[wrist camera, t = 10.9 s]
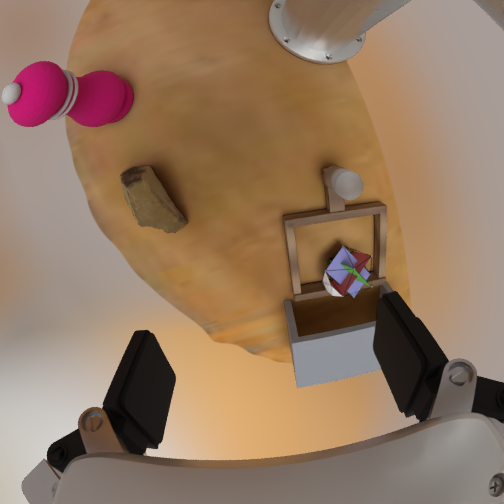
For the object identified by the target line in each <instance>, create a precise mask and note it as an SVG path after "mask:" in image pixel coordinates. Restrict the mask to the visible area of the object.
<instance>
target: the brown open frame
mask: <svg viewBox="0 0 504 504" xmlns="http://www.w3.org/2000/svg"><path fill="white" fill-rule="evenodd" d="M323 180H324V184H325V193H326V203H327V209H324V210H318V211H311V212H305V213H298V214H292V215H286V216H283V221H284V228H285V235H286V242H287V249H288V257H289V264H290V272H291V280H292V288H293V294H294V298H295V302H296V301H302V300H307V299H313V298H318V297H324V296H329V295H331V294H330V293H329V292H328V291H327V290H326V288H325V286H324V284H323V282H317V283H312V284H306V285H300V277H299V268H298V259H297V251H296V242H295V234H294V227H297V226H303V225H309V224H316V223H322V222H328V221H335V220H341V219H348V218H355V217H361V216H368V215H375V249H374V272H369V273H370V274H371V275H370V276H371V278H370V276H369V277H368V279H367V280H366V281H367V282H368V283H369V284H370V285H371V284H372V287H373V286H377V285H382V284H385V279H386V278H385V262H386V237H387V206H386V205H385V204H383V203H382V202H374V203H367V204H359V205H352V206H345V204H344V199H346V200H353V199H356V198H357V197H358V196H359V195H360V194H361V192H362V190H363V182H362V179H361V178H360V176H359V175H358V174H356V173H354V172H351V171H349V170H347V169H345V168H342V167H340V166H337V165H333V166H330V167H328V168H323ZM333 280H334V279H333ZM333 280H329V281H330V284H331V283H332V281H333ZM368 287H371V286H368V285H366V284H364V285H363V286H362V287H361V289H363V288H368ZM347 292H348V291H347Z"/></svg>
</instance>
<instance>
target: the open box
mask: <svg viewBox="0 0 504 504" xmlns="http://www.w3.org/2000/svg"><path fill="white" fill-rule="evenodd" d="M389 292H393V290H392V288H391V287H390V286H389V284H388V283H387V282H386V281H385V284H382V285H380V294H379V298H382V295H383V294H385V293H389ZM284 304H285V311H286V318H287V326H288V333H289V341H290V348H291V354H292V360H293V366H294V372H295V378H296V384H297V388H300V387H306V386H311V385H317V384H322V383H327V382H332V381H336V380H341V379H345V378H349V377H353V376H357V375H361V374H365V373H369V372H372V371H376V370H380V369H381V367H380V365H379V362H378V360H377V358H376V356H375V354H374V351H373V340H374V333H375V325H376V321H373V322H368V323H364V324H360V325H356V326H351V327H347V328H342V329H338V330H333V331H328V332H323V333H318V334H313V335H307V336H302V337H298V332H297V327H296V323H295V318H294V314H293V309H292V304H291V300H286V301H284Z"/></svg>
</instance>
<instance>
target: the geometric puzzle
mask: <svg viewBox="0 0 504 504" xmlns="http://www.w3.org/2000/svg"><path fill="white" fill-rule="evenodd" d="M346 248H348V247H346ZM346 248H345V246H343V247H341V248H340V249H341V250H340V249H339V250H340V251H339V252H338V254H337V255H336V257H334V259H333V258H331V257H332V256H331V257H330V258H331V259H333V261H330V258H329V259H328V261H329V262H331V264H330V265H329V266H328V268H327V269H326V270H325V274H324V277H323V284H324V286H325V288H326V290H327V291H328V292H329V293H330V294H331V295H332V296H340V297H344V295H346V294H345V293H346V292H347V291H348V292H349V293H350V294H351V295H352V296H353V298H355V296H356V294H357V293H358V292H359V290H360V289H361V287H362V286H363V285H364V284H366V285H368V286H371V287H372V284H371V285H370V284H369V283H368V282H367V281H366V280H367V279H368V277H369V276H370V275H371V274H370V273H369V272H368V270H367V269H365V268H366V267H365V265H366V263H367V262H368V260H369V259H370V257H371V264H372V255H368V254H365V253H364V254H363V253H362V252H361V253H359V252H355V251H353V250H354V249H353V250H352V251H353V254H351V253H352V252H349V251H348V250H347V249H346ZM348 249H349V248H348ZM350 250H351V248H350ZM356 251H357V250H356ZM364 267H365V268H364ZM370 272H371V269H370ZM326 273H328V274H329V275H330V276H331V277H333V278H334V280H333V281H332V283H331V284H330V281H329V279H328V276H329V275H328V276H327V274H326ZM330 276H329V277H330ZM370 278H371V276H370ZM330 279H331V278H330ZM331 280H332V279H331ZM364 290H365V289H364ZM367 290H368V288H367ZM361 291H362V290H361ZM362 293H363V292H362ZM350 294H349V295H350ZM349 295H348V296H349ZM346 296H347V295H346ZM352 296H351V297H352ZM357 296H358V295H357Z"/></svg>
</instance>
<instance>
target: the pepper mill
mask: <svg viewBox="0 0 504 504" xmlns="http://www.w3.org/2000/svg"><path fill="white" fill-rule="evenodd" d="M2 100H3V102H4V103H5V104H7V105H8V111H9V114H10V116H11V118H12V119H13V121H14V122H15V123H17V124H18V125H21V126H25V127H34V126H38V125H40V124H43V123H44V122H46V121H47V120H52V119H53V120H56V119H59V118H61V117H63V116H65V115H68V116H70V117H71V118H72V119H73V120H75V121H76V122H77V123H79V124H81V125H84V126H88V127H99V126H102V125H105V124H107V123H113V122H116V121H119V120H120V119H122V118H123V117H124V116H125V115H126V114H127V113H128V112H129V110H130V108H131V106H132V103H133V91H132V88H131V86H130V85H129V84H128V83H127V82H126V81H124V80H121V79H120V78H119V76H117V75H116V74H114V73H112V72H108V71H95V72H91V73H89V74H86V75H84V76H82V77H76V76H75V75H74V74H73V73H72V72H70V71H66V70H62V69H61V68H60V67H59V66H58V65H57V64H55V63H52V62H49V61H48V62H47V61H40V62H36V63H33V64H31V65H29V66H27V67H26V68H25V69H23V70H22V71H21V72H20V73H19V74H18V75H17V77H16V78H15V80H14V81H13V83H11V84H8V85H7V86H6V87H5V89H4V90H3V92H2Z"/></svg>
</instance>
